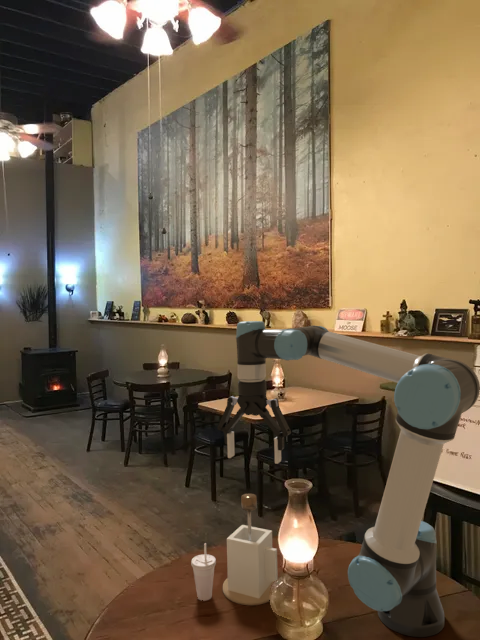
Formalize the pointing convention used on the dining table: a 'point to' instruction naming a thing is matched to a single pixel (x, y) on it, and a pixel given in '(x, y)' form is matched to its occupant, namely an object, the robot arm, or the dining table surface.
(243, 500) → the plunger
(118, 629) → the dining table surface
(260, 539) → the press
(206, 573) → the smoothie
